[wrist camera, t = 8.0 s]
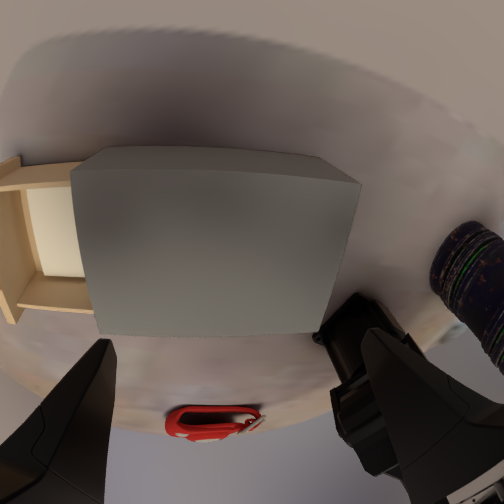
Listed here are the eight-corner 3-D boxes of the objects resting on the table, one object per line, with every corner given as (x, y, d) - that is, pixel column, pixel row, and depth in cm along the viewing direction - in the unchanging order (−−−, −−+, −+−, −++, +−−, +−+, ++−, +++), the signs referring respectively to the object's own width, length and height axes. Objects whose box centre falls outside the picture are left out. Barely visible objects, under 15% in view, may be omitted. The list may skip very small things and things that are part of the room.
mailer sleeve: (318, 157, 19) (361, 184, 14) (293, 280, 24) (317, 331, 19) (106, 146, 16) (69, 171, 11) (117, 278, 21) (99, 333, 16)
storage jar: (494, 235, 26) (575, 306, 14) (455, 299, 31) (522, 380, 18) (460, 206, 23) (571, 293, 11) (414, 287, 27) (497, 393, 15)
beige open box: (212, 148, 17) (224, 202, 9) (204, 283, 22) (212, 391, 14) (12, 157, 14) (-79, 213, 6) (35, 278, 19) (-13, 365, 11)
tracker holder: (213, 443, 36) (154, 444, 30) (209, 417, 39) (151, 413, 33) (276, 430, 31) (214, 435, 25) (270, 398, 34) (208, 395, 27)
